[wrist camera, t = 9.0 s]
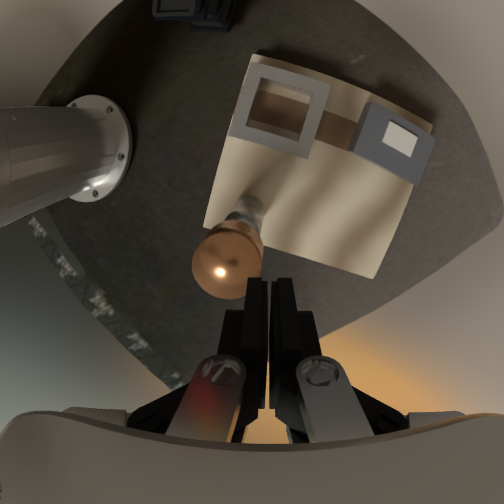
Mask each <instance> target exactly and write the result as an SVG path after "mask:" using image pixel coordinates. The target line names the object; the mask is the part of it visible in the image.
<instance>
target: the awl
mask: <svg viewBox="0 0 504 504" xmlns="http://www.w3.org/2000/svg"><path fill="white" fill-rule="evenodd" d="M264 212H265V209H264V205H263V203H262V202H261V200H260V199H258V198H257V197H255V196H251V195H246V196H243V197H241V198H239V199H238V200H237V201H236V203H235V204H234V206H233V207H232V209H231V210H230V212H229V214H228V215H227V217H226V218H225V220H224V221H223V222H221V223H218V224H217V225H215V226H214V227H213V228H212V229H211V230H210V231H209V233H208V234H207V236H206V237H205V238H204V240H203V241H202V243H201V244H200V245H199V247H198V248H197V250H196V251H195V253H194V256H193V259H192V271H193V275H194V277H195V279H196V281H197V283H198V284H199V285H200V286H201V287H202V288H203V289H204V290H205V291H206V292H208V293H209V294H211V295H213V296H215V297H218V298H222V299H236V298H240V297H243V296H245V295H246V288H247V279H248V277H260V273H261V266H262V258H263V242H262V239H261V237H260V234H261V229H262V223H263V218H264Z"/></svg>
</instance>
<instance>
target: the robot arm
mask: <svg viewBox="0 0 504 504" xmlns="http://www.w3.org/2000/svg"><path fill="white" fill-rule="evenodd" d="M112 110H113V111H112ZM132 144H133V143H132V132H131V128H130V124H129V121H128V119H127V117H126V114H125V113H124V111H123V110H122V109H121V107H120V106H119V105H118V104H117V103H116V102H114V101H113V100H111V99H109V98H107V97H104V96H100V95H86V96H82V97H80V98H77V99H75V100H74V101H72V102H71V103H69V104H68V105H67V106H66V107H13V108H0V227H2V226H4V225H6V224H8V223H10V222H13V221H15V220H17V219H19V218H21V217H23V216H25V215H27V214H30V213H32V212H34V211H36V210H39V209H41V208H43V207H46V206H48V205H50V204H53V203H55V202H57V201H60V200H62V199H65V198H67V197H70V198H72V199H74V200H76V201H80V202H93V201H96V200H99V199H101V198H104V197H106V196H107V195H109V194H110V193H111V192H113V191H114V190H115V189H116V188H117V187H118V185H119V184H120V183H121V181H122V180H123V178H124V176H125V175H126V172H127V169H128V167H129V164H130V160H131V155H132ZM267 358H268V291H267V281H262V277H248V279H247V288H246V297H245V306H244V310H228V309H227V310H226V313H225V317H224V322H223V327H222V332H221V337H220V342H219V347H218V352H217V355H213V356H210V357H208V358H206V359H204V360H203V361H202V362H201V363H200V364H199V366H198V367H197V369H196V371H195V373H194V375H193V378H192V380H191V382H190V383H188V384H186V385H184V386H182V387H180V388H178V389H176V390H174V391H172V392H170V393H169V394H167V395H165V396H163V397H161V398H159V399H157V400H154V401H152V402H150V403H148V404H146V405H144V406H142V407H140V408H138V409H137V410H135V411H134V412H133V413H127V412H126V410H118V409H96V408H84V407H70V408H68V409H65V410H64V411H63V412H59V411H30V412H26V413H22V414H19V415H17V416H16V417H15V418H13V419H12V420H11V421H10V422H9V423H8V424H7V426H6V427H5V428H4V430H3V431H2V432H1V434H0V504H504V415H502V414H493V413H480V414H469V415H465V414H463V413H461V412H458V411H447V412H421V413H420V412H413V413H412V412H410V413H408V414H407V415H402V414H401V413H400V412H399V411H397V410H395V409H393V408H391V407H390V406H388V405H386V404H384V403H382V402H380V401H378V400H376V399H375V398H373V397H371V396H369V395H367V394H365V393H363V392H362V391H360V390H358V389H356V388H354V387H353V386H351V384H350V382H349V379H348V377H347V375H346V373H345V371H344V369H343V367H342V366H341V365H340V363H338V362H337V361H336V360H334V359H332V358H330V357H326V356H322V353H321V348H320V344H319V339H318V334H317V330H316V326H315V321H314V317H313V313H312V311H297V307H296V301H295V295H294V289H293V283H292V278H277V281H272V287H271V310H270V331H269V408H270V409H275V417H277V418H278V419H279V420H281V421H282V422H284V423H285V424H286V431H287V436H288V440H289V444H246V443H244V440H245V436H246V433H247V425H249V424H250V423H251V422H253V421H254V420H256V419H257V418H258V409H264V408H265V391H266V376H267Z"/></svg>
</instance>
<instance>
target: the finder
mask: <svg viewBox="0 0 504 504" xmlns="http://www.w3.org/2000/svg"><path fill="white" fill-rule="evenodd" d="M435 141H436V138H434V137H433V136H431V135H430V134H428V133H427V132H425V131H424V130H422V129H420V128H419V127H417V126H416V125H414V124H413V123H411V122H409V121H408V120H406V119H404V118H403V117H401V116H399V115H397V114H396V113H394V112H392V111H390V110H389V109H387V108H385V107H383V106H381V105H380V104H378V103H376V102H374V101H371V102H368V103H365V105H364V108H363V111H362V113H361V116H360V118H359V121H358V124H357V126H356V129H355V131H354V134H353V137H352V139H351V142H350V144H349V147H348V149H347V151H348V152H350V153H353V154H355V155H357V156H359V157H361V158H363V159H365V160H367V161H369V162H371V163H373V164H375V165H377V166H379V167H381V168H383V169H384V170H386V171H388V172H390V173H392V174H394V175H396V176H397V177H399V178H401V179H403V180H405V181H406V182H408V183H411V184H413V185H416V186H418V185H419V182H420V180H421V178H422V175H423V173H424V170H425V168H426V165H427V162H428V160H429V157H430V154H431V152H432V149H433V146H434V143H435Z"/></svg>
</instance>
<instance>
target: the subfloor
mask: <svg viewBox="0 0 504 504" xmlns="http://www.w3.org/2000/svg"><path fill="white" fill-rule="evenodd" d="M251 62H256V63H260V64H264V65H268V66H272V67H276V68H279V69H283V70H286V71H290V72H293V73H297V74H300V75H303V76H306V77H309V78H312V79H315V80H318V81H321V82H324V83H327V84H329V85H331V88H330V91H329V95H328V98H327V101H326V104H325V107H324V110H323V114H322V117H321V120H320V123H319V126H318V129H317V132H316V135H315V139H314V142H313V145H312V148H311V151H310V154H309V157H308V160H307V159H304V158H302V157H299V156H296V155H292V154H289V153H286V152H283V151H280V150H277V149H273V148H270V147H267V146H263V145H260V144H257V143H253V142H249V141H246V140H242V139H239V138H235V137H231V136H228V134H227V137H226V141H225V144H224V148H223V151H222V155H221V159H220V162H219V166H218V170H217V173H216V177H215V181H214V185H213V189H212V192H211V196H210V200H209V204H208V208H207V212H206V217H205V221H204V225H203V227H205V228H209V229H212V228H213V227H214V226H215V225H217V224H218V223H221V222H223V221H224V220H225V218H226V217H227V215H228V214H229V212H230V210H231V209H232V207H233V206H234V204H235V203H236V201H237V200H238V199H239V198H241V197H243V196H246V195H251V196H255V197H257V198H258V199H260V200H261V202H262V203H263V205H264V209H265V212H264V218H263V223H262V229H261V234H260V237H261V239H262V242H263V245H265V246H268V247H271V248H275V249H278V250H281V251H284V252H288V253H291V254H294V255H297V256H301V257H304V258H307V259H310V260H313V261H317V262H320V263H323V264H326V265H329V266H333V267H336V268H339V269H342V270H345V271H349V272H352V273H355V274H358V275H361V276H364V277H368V278H371V279H373V278H374V276H375V274H376V272H377V270H378V268H379V266H380V264H381V262H382V260H383V258H384V256H385V253H386V251H387V249H388V247H389V245H390V242H391V240H392V238H393V236H394V233H395V231H396V229H397V226H398V224H399V221H400V219H401V217H402V214H403V212H404V209H405V207H406V204H407V202H408V199H409V196H410V194H411V191H412V188H413V186H414V185H413V184H411V183H408V182H406V181H405V180H403V179H401V178H399V177H397V176H396V175H394V174H392V173H390V172H388V171H386V170H384V169H383V168H381V167H379V166H377V165H375V164H373V163H371V162H369V161H367V160H365V159H363V158H361V157H359V156H357V155H355V154H353V153H350V152H348V151H347V149H348V147H349V144H350V142H351V139H352V137H353V134H354V131H355V129H356V126H357V124H358V121H359V118H360V116H361V113H362V111H363V108H364V105H365V103H368V102H371V101H374V102H376V103H378V104H380V105H381V106H383V107H385V108H387V109H389V110H390V111H392V112H394V113H396V114H397V115H399V116H401V117H403V118H404V119H406V120H408V121H409V122H411V123H413V124H414V125H416V126H417V127H419V128H420V129H422V130H424V131H425V132H427V133H428V134H430V133H431V130H432V126H433V125H432V124H430V123H428V122H427V121H425V120H423V119H422V118H420V117H418V116H416V115H414V114H413V113H411V112H409V111H407V110H405V109H403V108H401V107H399V106H397V105H395V104H393V103H391V102H389V101H387V100H385V99H383V98H381V97H379V96H377V95H375V94H372V93H370V92H368V91H366V90H363V89H361V88H359V87H356V86H354V85H352V84H349V83H347V82H344V81H341V80H339V79H336V78H334V77H331V76H328V75H325V74H322V73H320V72H317V71H314V70H311V69H308V68H304V67H301V66H298V65H295V64H291V63H288V62H284V61H281V60H277V59H273V58H269V57H265V56H261V55H257V54H252V57H251V60H250V63H251ZM250 63H249V66H250ZM249 66H248V69H249ZM248 69H247V72H248ZM247 72H246V75H247ZM246 75H245V78H246ZM245 78H244V81H245ZM244 81H243V84H244ZM242 87H243V85H242ZM241 90H242V88H241ZM240 93H241V91H240ZM239 97H240V94H239ZM239 97H238V100H239ZM238 100H237V103H238ZM309 101H310V96H307V95H304V94H301V93H297V92H294V91H291V90H288V89H284V88H281V87H277V86H274V85H270V84H266V83H263V82H262V85H261V88H260V91H259V94H258V98H257V101H256V104H255V107H254V110H253V114H252V117H251V120H250V123H249V127H251V128H254V129H258V130H262V131H265V132H268V133H272V134H275V135H278V136H282V137H285V138H288V139H291V140H294V141H297V138H298V135H299V132H300V129H301V126H302V123H303V120H304V116H305V113H306V110H307V107H308V104H309ZM236 106H237V104H236ZM235 109H236V107H235ZM234 113H235V110H234ZM234 113H233V116H234ZM232 119H233V117H232ZM231 123H232V120H231ZM231 123H230V126H231ZM229 130H230V127H229ZM229 130H228V133H229Z"/></svg>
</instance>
